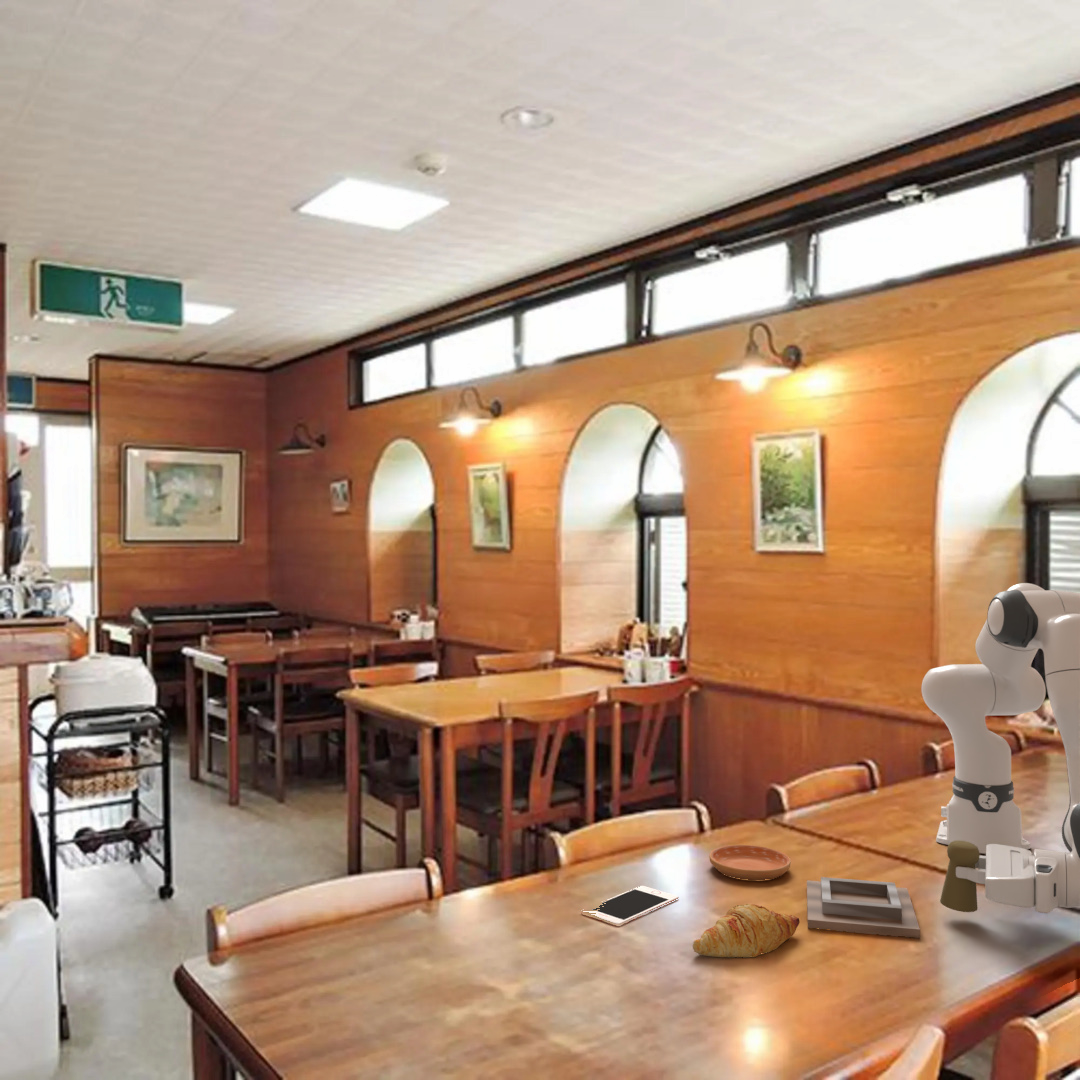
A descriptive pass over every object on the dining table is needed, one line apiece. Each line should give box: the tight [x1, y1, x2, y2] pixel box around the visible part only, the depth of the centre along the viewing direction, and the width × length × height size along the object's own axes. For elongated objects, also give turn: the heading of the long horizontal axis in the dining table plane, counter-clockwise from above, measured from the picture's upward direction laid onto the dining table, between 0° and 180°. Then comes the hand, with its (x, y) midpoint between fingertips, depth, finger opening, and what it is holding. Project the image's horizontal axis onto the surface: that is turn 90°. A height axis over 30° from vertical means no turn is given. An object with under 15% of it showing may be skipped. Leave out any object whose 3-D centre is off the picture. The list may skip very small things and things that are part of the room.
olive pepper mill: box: [939, 840, 981, 913], centre depth 175 cm, size 6×6×11 cm
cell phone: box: [583, 885, 680, 924], centre depth 183 cm, size 9×18×1 cm, turn 136°
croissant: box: [692, 903, 800, 958], centre depth 165 cm, size 21×10×8 cm, turn 118°
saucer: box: [708, 844, 792, 880], centre depth 202 cm, size 16×16×3 cm
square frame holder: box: [806, 876, 921, 939], centre depth 180 cm, size 20×18×4 cm
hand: (956, 866), depth 175 cm, fingers closed on olive pepper mill, 4 cm apart
